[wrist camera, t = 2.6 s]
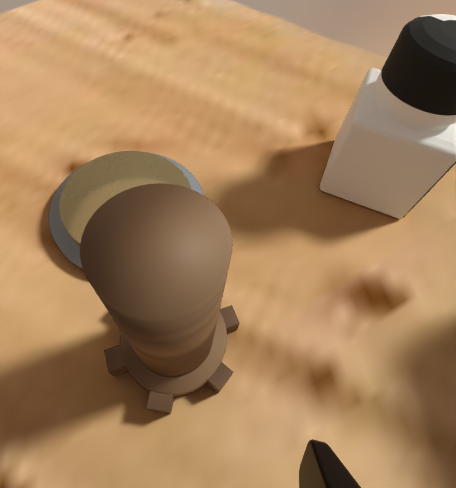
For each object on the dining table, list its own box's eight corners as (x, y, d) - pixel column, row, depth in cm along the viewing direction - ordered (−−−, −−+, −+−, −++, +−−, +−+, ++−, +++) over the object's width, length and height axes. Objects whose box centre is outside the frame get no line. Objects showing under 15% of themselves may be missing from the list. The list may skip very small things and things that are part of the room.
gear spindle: (259, 336, 21) (327, 235, 10) (182, 442, 17) (168, 446, 7) (170, 266, 23) (152, 121, 12) (85, 348, 19) (-36, 246, 9)
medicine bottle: (401, 222, 26) (534, 84, 16) (317, 191, 27) (392, 42, 17) (409, 164, 30) (522, 21, 20) (334, 138, 31) (406, -11, 21)
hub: (217, 202, 25) (218, 194, 24) (127, 287, 21) (124, 280, 20) (132, 144, 27) (130, 134, 26) (36, 209, 23) (30, 200, 22)
